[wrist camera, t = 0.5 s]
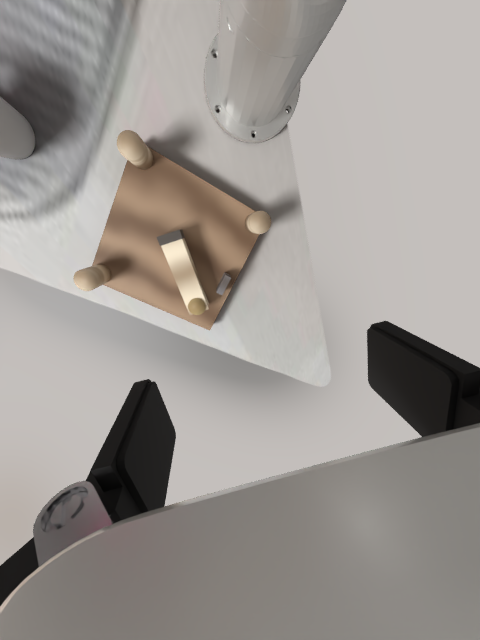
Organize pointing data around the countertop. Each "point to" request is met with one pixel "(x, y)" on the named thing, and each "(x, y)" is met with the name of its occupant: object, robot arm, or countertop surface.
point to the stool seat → (164, 217)
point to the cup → (14, 133)
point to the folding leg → (184, 271)
